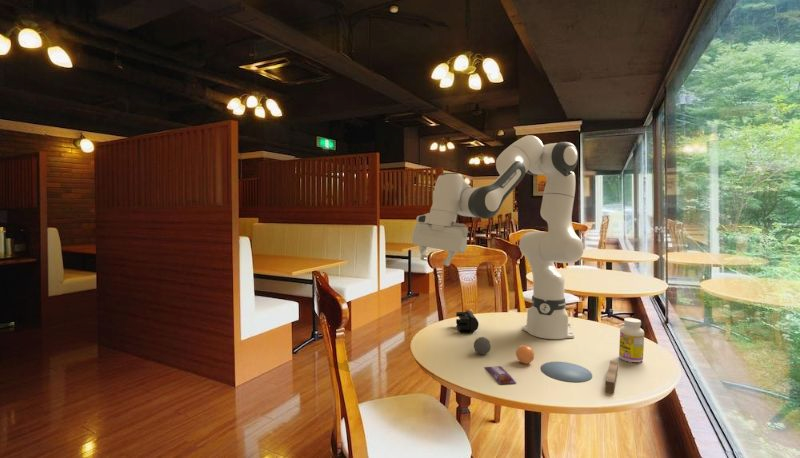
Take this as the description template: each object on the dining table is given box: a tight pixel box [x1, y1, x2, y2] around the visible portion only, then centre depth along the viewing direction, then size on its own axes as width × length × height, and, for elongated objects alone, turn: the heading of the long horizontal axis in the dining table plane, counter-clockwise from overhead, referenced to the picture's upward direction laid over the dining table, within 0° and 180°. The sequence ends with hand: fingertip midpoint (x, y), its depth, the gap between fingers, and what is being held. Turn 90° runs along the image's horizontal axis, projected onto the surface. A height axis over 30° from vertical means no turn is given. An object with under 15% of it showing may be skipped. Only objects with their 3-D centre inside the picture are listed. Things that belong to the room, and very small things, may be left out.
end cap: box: [455, 309, 480, 335], centre depth 156 cm, size 10×7×7 cm
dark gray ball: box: [473, 336, 492, 356], centre depth 131 cm, size 6×6×6 cm
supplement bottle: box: [618, 317, 645, 363], centre depth 126 cm, size 7×7×13 cm
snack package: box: [484, 365, 517, 385], centre depth 114 cm, size 12×2×5 cm
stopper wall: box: [604, 360, 619, 394], centre depth 111 cm, size 16×2×3 cm, turn 148°
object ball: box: [515, 344, 535, 365], centre depth 123 cm, size 6×6×6 cm
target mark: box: [540, 361, 593, 383], centre depth 117 cm, size 14×14×1 cm
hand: (434, 262), depth 128 cm, fingers open, 8 cm apart
